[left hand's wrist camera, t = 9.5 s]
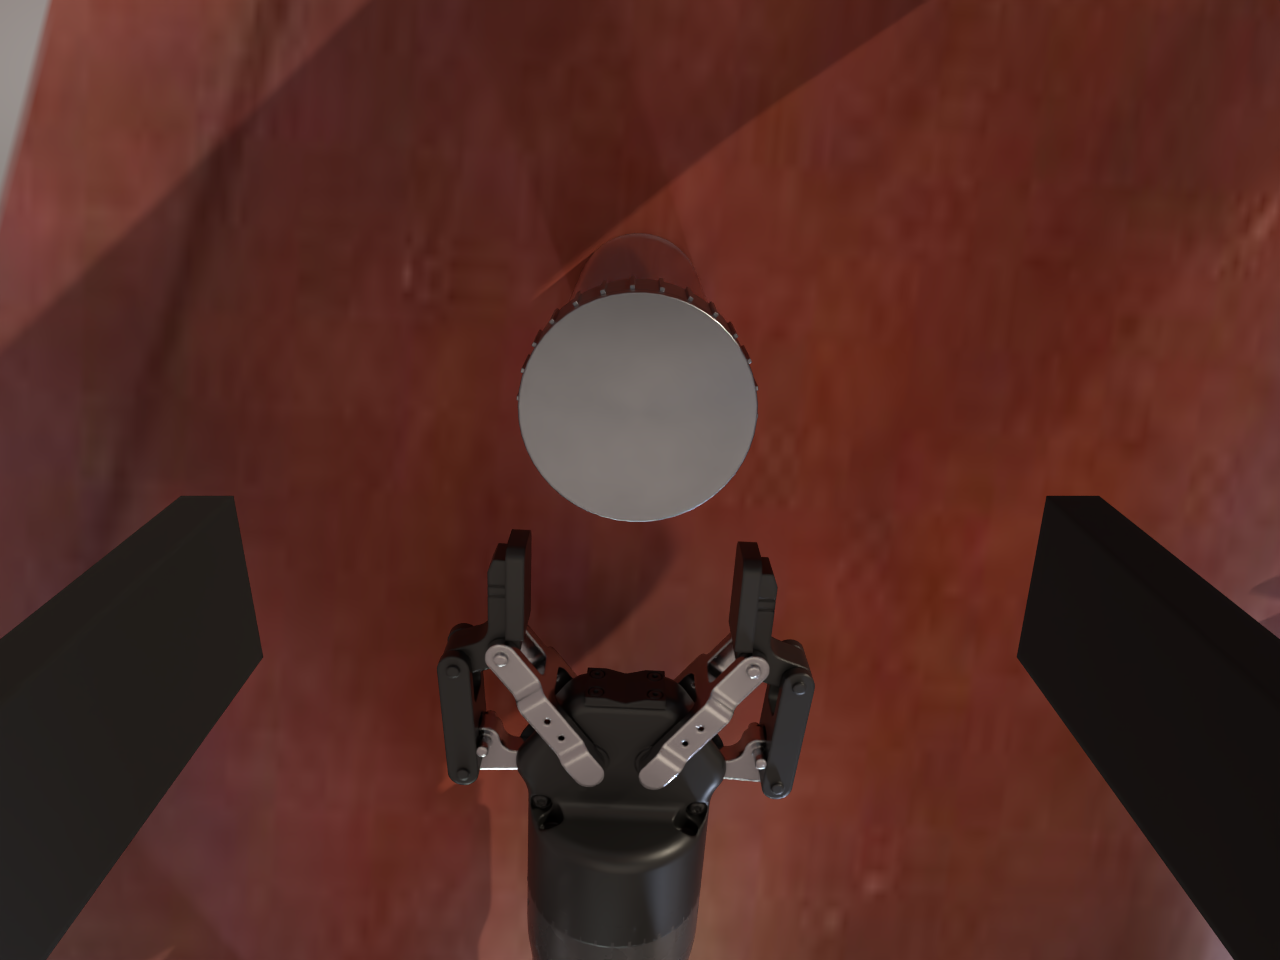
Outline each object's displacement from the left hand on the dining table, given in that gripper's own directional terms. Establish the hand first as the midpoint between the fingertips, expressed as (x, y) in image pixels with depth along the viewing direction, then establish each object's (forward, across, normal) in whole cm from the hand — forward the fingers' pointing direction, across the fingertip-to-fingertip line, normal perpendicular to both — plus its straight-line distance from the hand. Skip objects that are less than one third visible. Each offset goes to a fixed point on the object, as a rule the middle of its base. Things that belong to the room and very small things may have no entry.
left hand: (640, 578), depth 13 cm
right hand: (+18, 0, +8) cm, 19 cm away
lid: (+9, 0, 0) cm, 9 cm away
